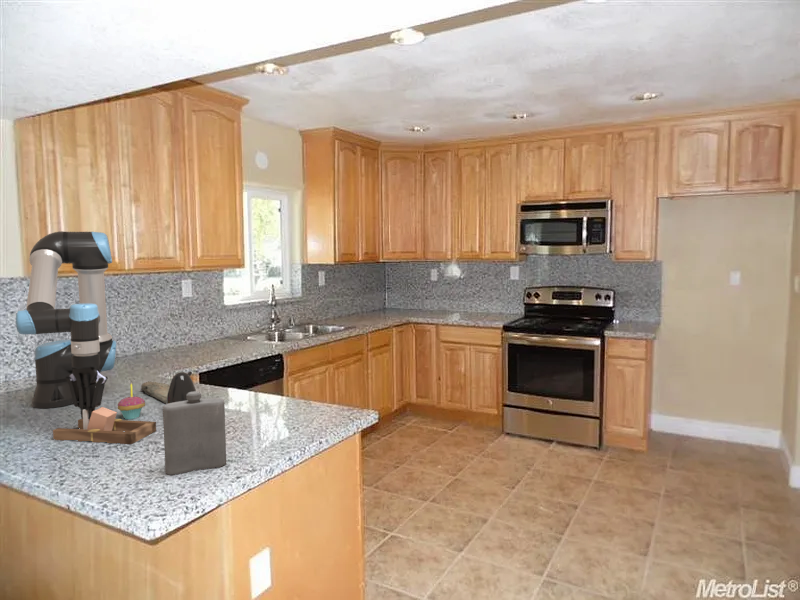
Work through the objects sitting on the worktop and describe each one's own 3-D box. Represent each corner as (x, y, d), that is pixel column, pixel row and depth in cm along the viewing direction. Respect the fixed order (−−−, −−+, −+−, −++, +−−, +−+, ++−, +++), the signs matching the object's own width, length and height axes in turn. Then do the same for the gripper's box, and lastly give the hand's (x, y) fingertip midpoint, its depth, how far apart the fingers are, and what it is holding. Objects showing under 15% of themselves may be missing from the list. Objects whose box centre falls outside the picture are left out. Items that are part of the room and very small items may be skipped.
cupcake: (120, 415, 185) (118, 381, 184) (146, 412, 188) (145, 379, 187) (116, 422, 177) (114, 387, 176) (144, 419, 180) (142, 384, 179)
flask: (224, 458, 145) (222, 387, 143) (227, 466, 140) (225, 392, 138) (165, 468, 139) (161, 393, 137) (165, 476, 134) (162, 399, 132)
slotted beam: (83, 427, 172) (82, 417, 172) (156, 430, 168) (155, 420, 168) (53, 439, 160) (52, 429, 160) (131, 444, 156) (131, 433, 156)
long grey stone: (166, 412, 194) (193, 408, 201) (167, 398, 193) (194, 394, 200) (134, 389, 219) (159, 386, 226) (135, 377, 218) (160, 374, 225)
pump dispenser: (204, 411, 189) (203, 369, 187) (185, 420, 179) (184, 376, 177) (180, 409, 191) (178, 368, 190) (160, 418, 181) (158, 374, 180)
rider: (96, 427, 167) (102, 406, 166) (111, 432, 167) (117, 412, 166) (86, 432, 162) (92, 411, 161) (101, 438, 162) (107, 417, 161)
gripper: (57, 355, 160) (60, 431, 162) (95, 356, 158) (98, 434, 160) (76, 351, 167) (79, 424, 169) (113, 352, 165) (115, 426, 167)
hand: (88, 429), depth 164 cm, fingers closed
